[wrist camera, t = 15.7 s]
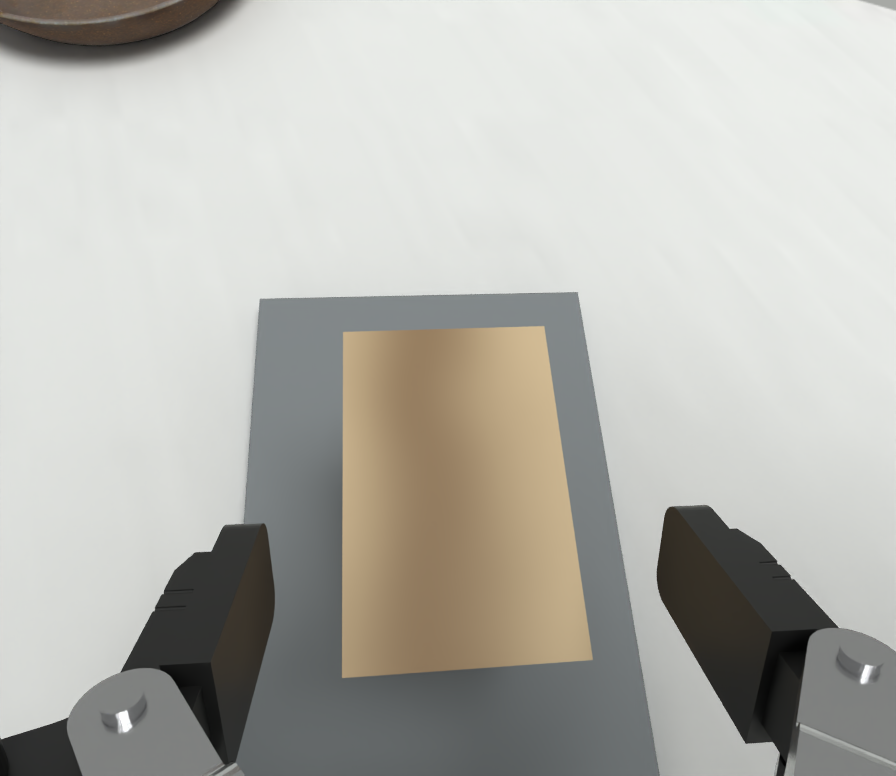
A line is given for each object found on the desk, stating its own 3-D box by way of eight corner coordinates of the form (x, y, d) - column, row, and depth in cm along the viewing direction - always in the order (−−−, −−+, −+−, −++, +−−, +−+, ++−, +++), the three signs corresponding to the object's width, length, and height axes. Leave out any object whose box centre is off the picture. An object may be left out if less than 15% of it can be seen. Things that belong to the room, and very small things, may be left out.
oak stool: (497, 443, 25) (544, 325, 16) (519, 661, 22) (592, 660, 13) (366, 448, 24) (343, 331, 16) (369, 672, 21) (341, 677, 13)
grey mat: (668, 891, 20) (681, 902, 19) (222, 935, 19) (213, 948, 18) (572, 304, 29) (577, 292, 28) (264, 310, 28) (259, 298, 27)
